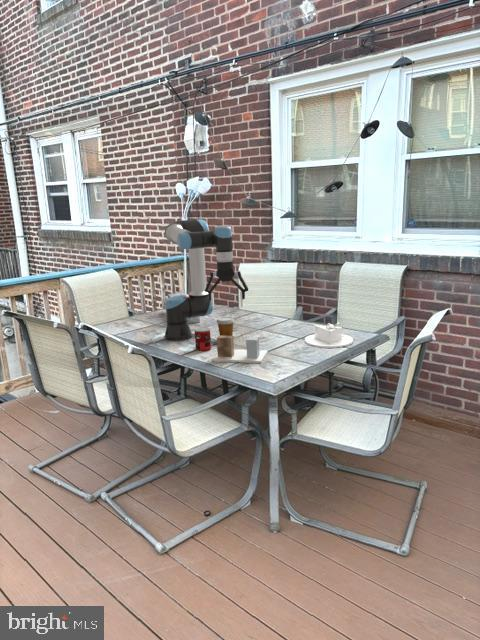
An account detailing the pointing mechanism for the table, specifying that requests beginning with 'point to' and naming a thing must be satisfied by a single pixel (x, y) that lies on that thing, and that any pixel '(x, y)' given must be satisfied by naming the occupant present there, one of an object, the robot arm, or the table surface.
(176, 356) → the table surface
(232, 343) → the walnut block
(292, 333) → the table surface
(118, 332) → the table surface
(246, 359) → the board
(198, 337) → the canned food
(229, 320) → the disposable coffee cup
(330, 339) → the dish
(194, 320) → the soda pack
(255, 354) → the grey block
